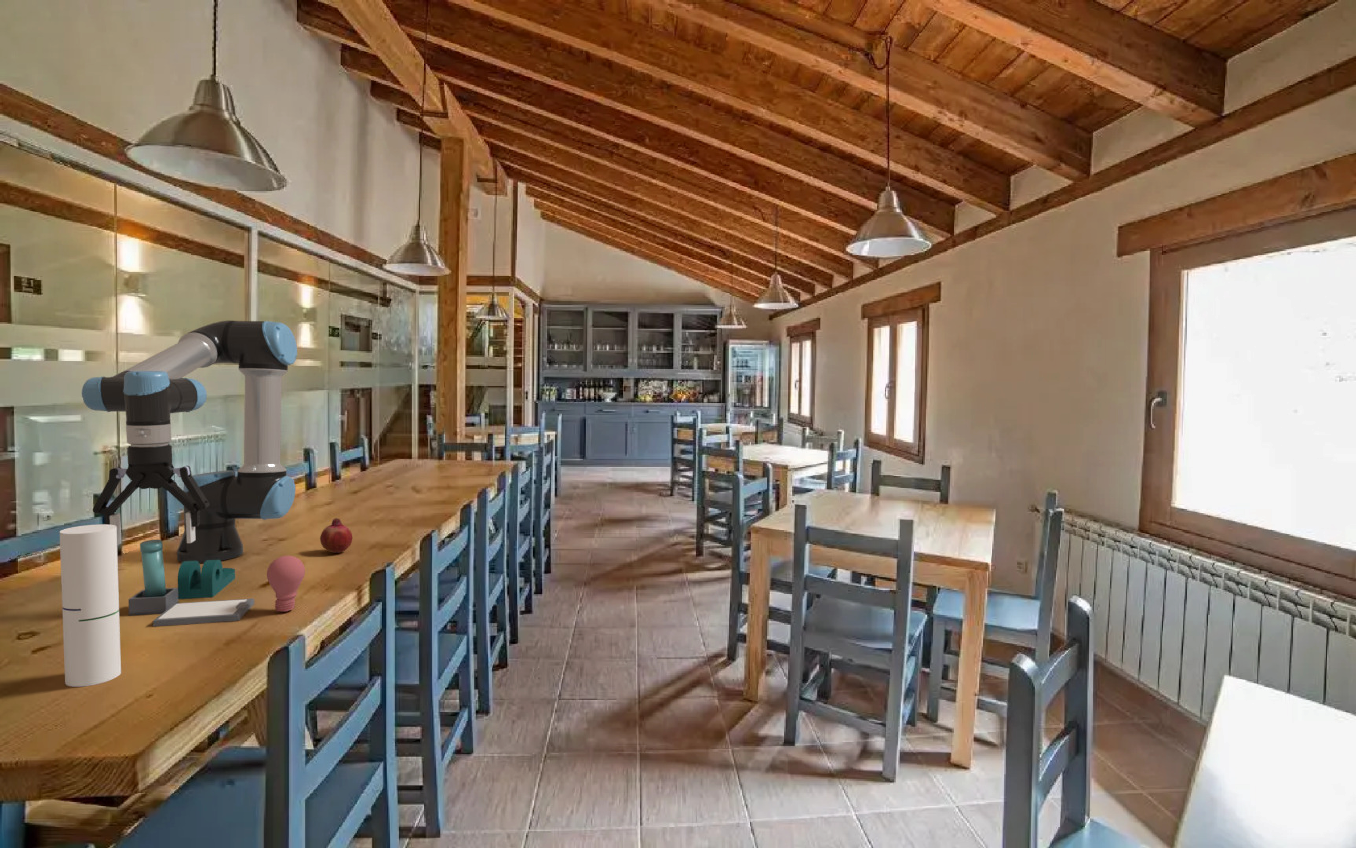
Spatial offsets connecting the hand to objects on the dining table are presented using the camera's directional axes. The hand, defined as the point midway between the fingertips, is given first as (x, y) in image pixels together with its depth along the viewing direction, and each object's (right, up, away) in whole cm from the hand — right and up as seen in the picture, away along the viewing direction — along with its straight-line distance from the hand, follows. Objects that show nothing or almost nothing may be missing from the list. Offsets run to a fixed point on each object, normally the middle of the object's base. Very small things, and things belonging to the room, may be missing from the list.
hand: (154, 543), depth 149 cm
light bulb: (+28, -15, +1) cm, 31 cm away
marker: (-1, -13, +1) cm, 14 cm away
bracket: (+1, -14, +17) cm, 22 cm away
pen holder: (0, -14, 0) cm, 14 cm away
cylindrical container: (+14, -17, -33) cm, 40 cm away
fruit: (+15, -11, +50) cm, 53 cm away
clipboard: (+12, -15, -2) cm, 19 cm away
